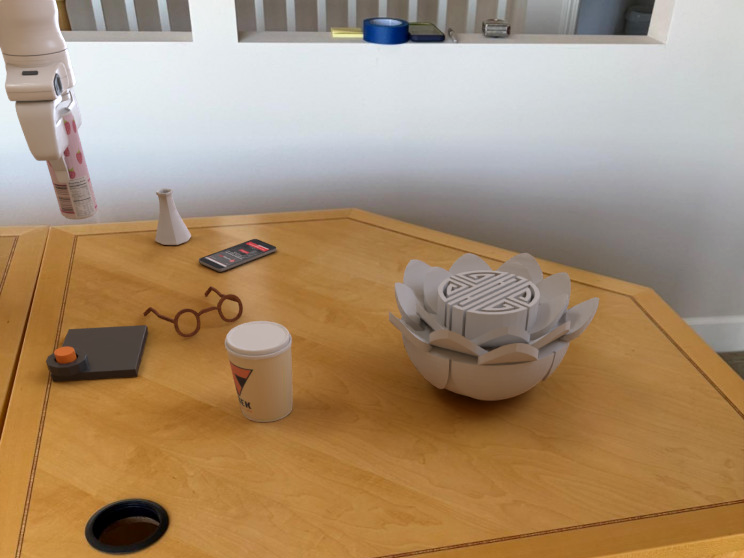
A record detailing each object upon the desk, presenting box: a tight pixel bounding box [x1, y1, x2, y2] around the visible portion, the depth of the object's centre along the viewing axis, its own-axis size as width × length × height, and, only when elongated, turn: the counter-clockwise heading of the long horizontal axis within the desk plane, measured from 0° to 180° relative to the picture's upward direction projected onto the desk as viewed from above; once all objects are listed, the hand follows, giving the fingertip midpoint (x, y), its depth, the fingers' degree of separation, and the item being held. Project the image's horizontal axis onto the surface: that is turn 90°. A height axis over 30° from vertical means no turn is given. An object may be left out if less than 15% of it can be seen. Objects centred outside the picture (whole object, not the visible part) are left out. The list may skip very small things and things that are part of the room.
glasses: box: [142, 286, 244, 339], centre depth 136 cm, size 13×13×5 cm
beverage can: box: [45, 107, 99, 221], centre depth 120 cm, size 6×6×15 cm
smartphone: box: [198, 238, 277, 273], centre depth 157 cm, size 7×1×15 cm
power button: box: [53, 346, 77, 364], centre depth 121 cm, size 3×3×2 cm
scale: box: [45, 324, 149, 383], centre depth 126 cm, size 14×16×3 cm
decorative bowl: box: [388, 252, 600, 402], centre depth 118 cm, size 30×30×15 cm
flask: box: [154, 188, 192, 246], centre depth 161 cm, size 7×7×10 cm
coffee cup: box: [224, 320, 294, 423], centre depth 112 cm, size 9×9×12 cm
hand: (69, 174), depth 121 cm, fingers closed on beverage can, 5 cm apart
